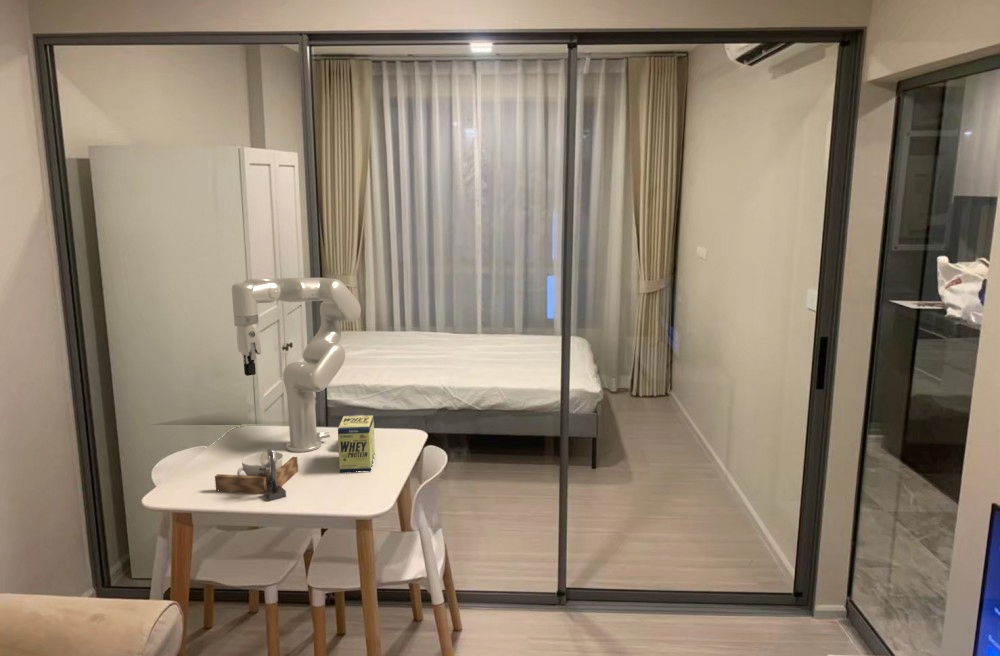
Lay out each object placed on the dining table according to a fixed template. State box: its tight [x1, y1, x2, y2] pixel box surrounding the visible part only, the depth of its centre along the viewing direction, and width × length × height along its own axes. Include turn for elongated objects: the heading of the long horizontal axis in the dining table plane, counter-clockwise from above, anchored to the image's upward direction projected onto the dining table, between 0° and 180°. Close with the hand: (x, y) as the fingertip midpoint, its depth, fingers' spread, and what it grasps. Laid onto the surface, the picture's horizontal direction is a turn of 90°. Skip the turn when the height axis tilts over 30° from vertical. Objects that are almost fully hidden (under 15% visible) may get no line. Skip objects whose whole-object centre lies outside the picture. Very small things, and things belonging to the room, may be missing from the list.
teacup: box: [236, 451, 284, 485], centre depth 229 cm, size 15×12×8 cm
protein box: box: [337, 413, 376, 474], centre depth 243 cm, size 10×16×16 cm
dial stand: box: [260, 449, 287, 502], centre depth 218 cm, size 5×6×14 cm
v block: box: [214, 456, 299, 495], centre depth 226 cm, size 27×12×5 cm, turn 127°
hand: (250, 374), depth 237 cm, fingers closed
